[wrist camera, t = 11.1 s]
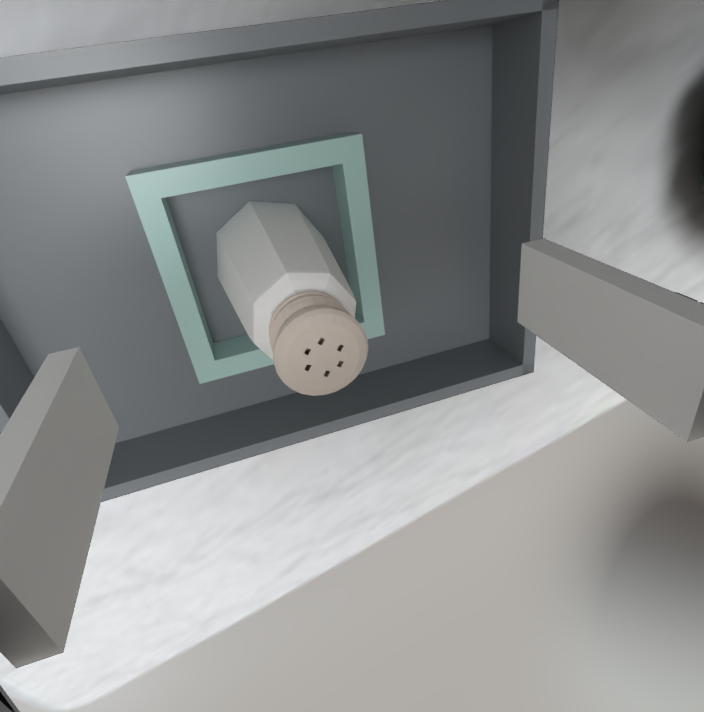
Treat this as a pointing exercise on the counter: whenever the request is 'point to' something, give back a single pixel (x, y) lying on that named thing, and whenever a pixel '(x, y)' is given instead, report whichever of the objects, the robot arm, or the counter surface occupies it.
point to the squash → (702, 176)
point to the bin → (279, 185)
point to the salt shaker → (291, 296)
